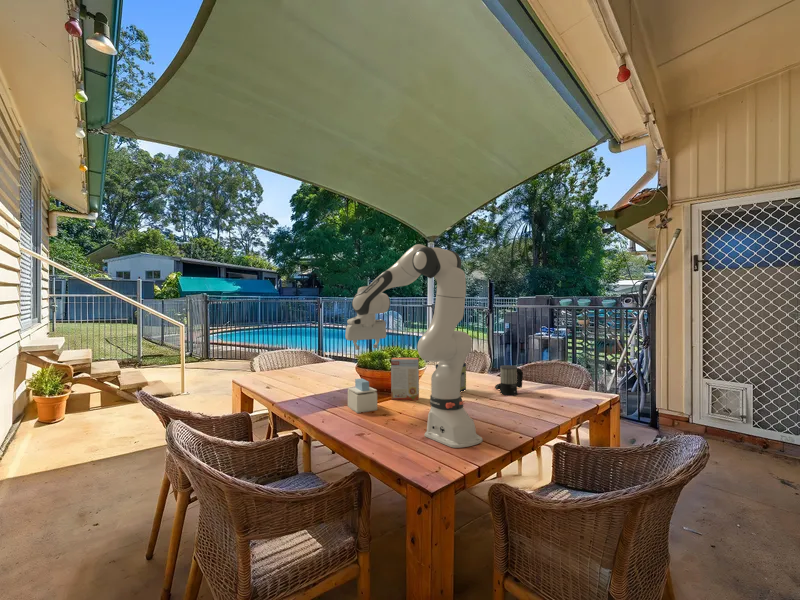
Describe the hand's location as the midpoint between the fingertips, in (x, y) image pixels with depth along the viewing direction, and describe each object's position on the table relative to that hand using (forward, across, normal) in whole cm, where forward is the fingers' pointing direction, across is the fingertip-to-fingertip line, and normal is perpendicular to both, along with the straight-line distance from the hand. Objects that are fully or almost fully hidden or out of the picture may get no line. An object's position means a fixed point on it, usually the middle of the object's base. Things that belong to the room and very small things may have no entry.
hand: (366, 348), depth 180 cm
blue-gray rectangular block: (+18, +3, +1) cm, 19 cm away
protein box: (+28, -52, -3) cm, 59 cm away
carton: (+28, +3, +1) cm, 28 cm away
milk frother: (+28, -78, +12) cm, 83 cm away
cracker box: (+28, -23, -3) cm, 36 cm away
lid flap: (+19, +3, +1) cm, 19 cm away
